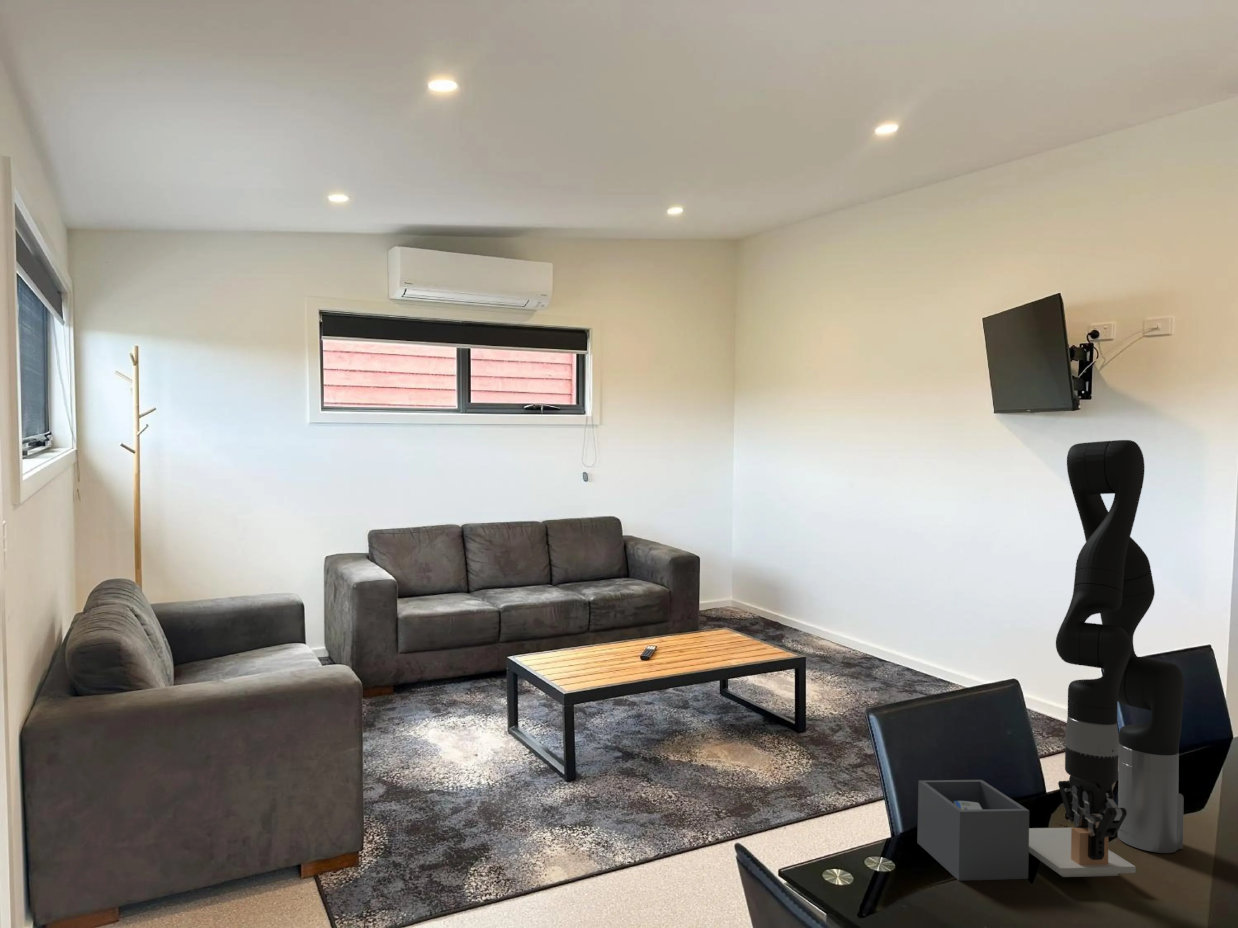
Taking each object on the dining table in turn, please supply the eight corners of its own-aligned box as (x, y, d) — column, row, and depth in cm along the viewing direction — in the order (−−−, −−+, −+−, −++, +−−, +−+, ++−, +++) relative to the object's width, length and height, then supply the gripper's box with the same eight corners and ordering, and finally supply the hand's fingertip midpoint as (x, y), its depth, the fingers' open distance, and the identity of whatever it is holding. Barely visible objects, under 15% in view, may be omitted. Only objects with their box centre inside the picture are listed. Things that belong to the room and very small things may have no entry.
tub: (980, 841, 148) (981, 779, 148) (1028, 878, 134) (1029, 810, 134) (917, 842, 146) (918, 780, 146) (958, 880, 132) (960, 811, 133)
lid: (1073, 839, 146) (1073, 799, 146) (1135, 880, 131) (1136, 834, 131) (1004, 841, 144) (1005, 799, 145) (1059, 882, 130) (1060, 836, 130)
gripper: (1144, 761, 126) (1143, 874, 126) (1084, 733, 140) (1082, 836, 140) (1099, 761, 126) (1098, 875, 125) (1043, 734, 139) (1041, 837, 139)
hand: (1090, 854), depth 132 cm, fingers closed on lid
